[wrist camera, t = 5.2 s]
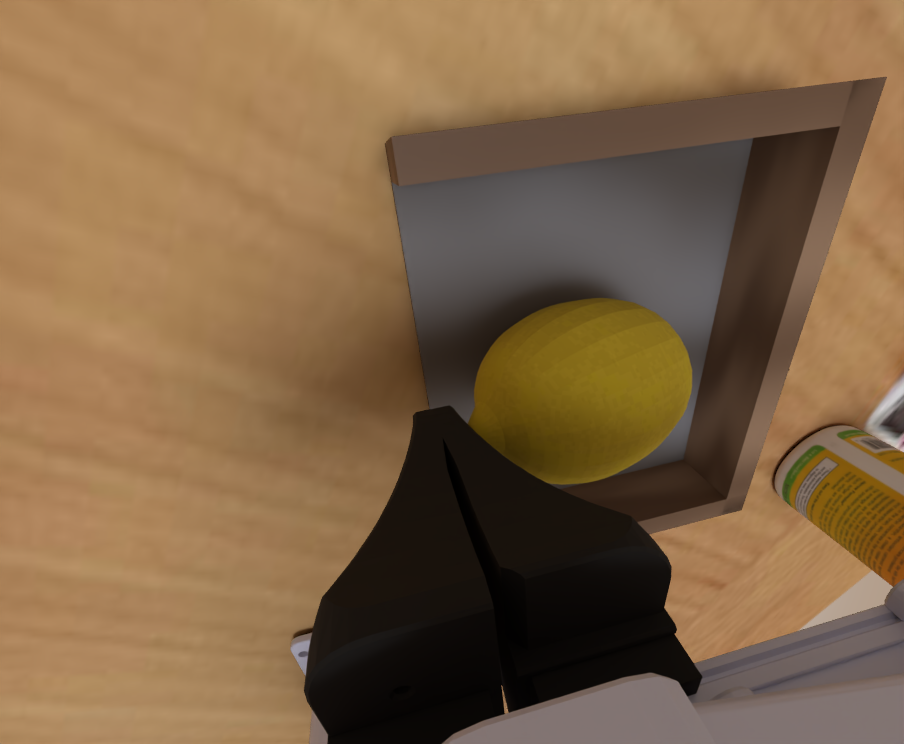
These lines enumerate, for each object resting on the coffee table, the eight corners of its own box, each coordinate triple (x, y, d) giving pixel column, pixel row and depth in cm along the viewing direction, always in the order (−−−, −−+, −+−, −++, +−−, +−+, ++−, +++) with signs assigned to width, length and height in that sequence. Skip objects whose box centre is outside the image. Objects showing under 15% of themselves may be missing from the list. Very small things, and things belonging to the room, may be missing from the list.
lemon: (554, 567, 9) (766, 432, 12) (482, 335, 8) (723, 251, 11) (460, 497, 14) (623, 415, 17) (411, 350, 14) (588, 289, 16)
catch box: (693, 466, 21) (741, 510, 18) (449, 525, 19) (462, 582, 16) (781, 95, 13) (886, 76, 10) (385, 143, 11) (391, 136, 9)
